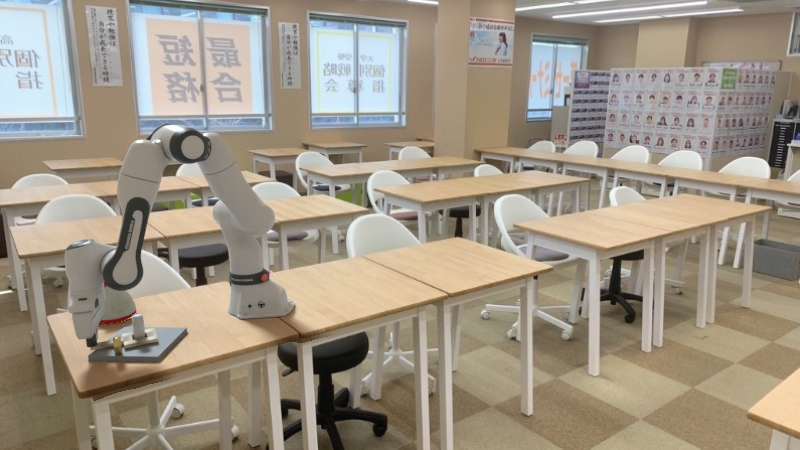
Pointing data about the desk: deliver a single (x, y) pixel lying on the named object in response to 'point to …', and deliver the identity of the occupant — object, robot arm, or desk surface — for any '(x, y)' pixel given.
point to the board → (141, 352)
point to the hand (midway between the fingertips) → (94, 340)
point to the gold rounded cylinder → (117, 345)
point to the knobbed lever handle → (124, 340)
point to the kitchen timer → (117, 306)
